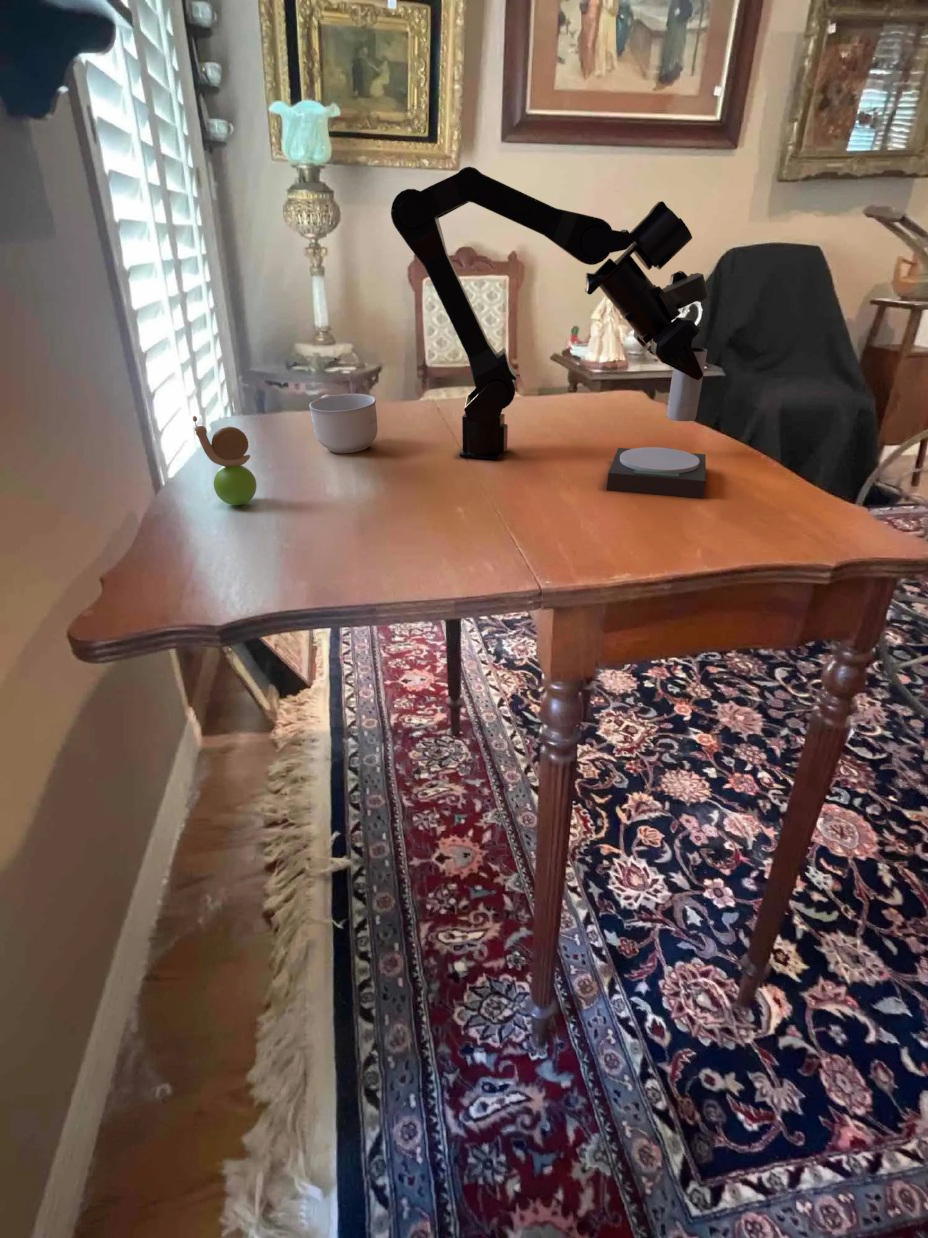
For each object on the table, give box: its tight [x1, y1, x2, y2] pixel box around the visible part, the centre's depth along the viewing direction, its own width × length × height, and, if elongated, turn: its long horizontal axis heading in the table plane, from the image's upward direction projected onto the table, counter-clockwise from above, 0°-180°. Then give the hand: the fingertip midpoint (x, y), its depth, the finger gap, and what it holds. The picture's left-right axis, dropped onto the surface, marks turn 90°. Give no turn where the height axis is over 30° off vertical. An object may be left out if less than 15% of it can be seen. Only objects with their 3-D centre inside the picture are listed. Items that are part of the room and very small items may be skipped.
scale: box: [606, 446, 707, 499], centre depth 100 cm, size 13×13×3 cm
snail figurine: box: [192, 415, 257, 506], centre depth 90 cm, size 5×6×12 cm
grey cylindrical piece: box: [665, 346, 708, 422], centre depth 106 cm, size 4×4×10 cm
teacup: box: [308, 393, 378, 454], centre depth 116 cm, size 14×11×8 cm
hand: (696, 374), depth 106 cm, fingers closed on grey cylindrical piece, 4 cm apart
